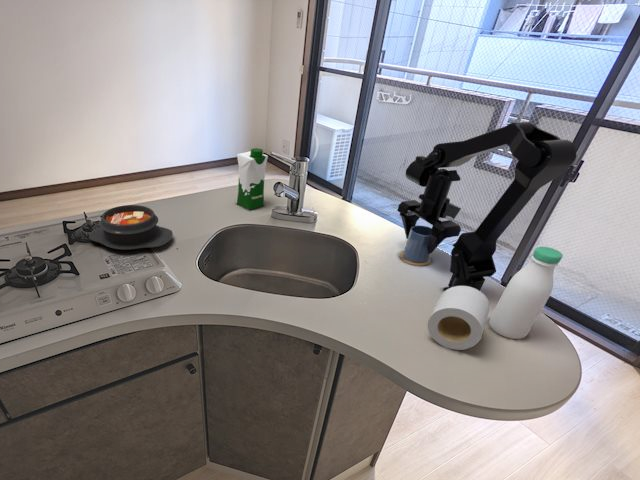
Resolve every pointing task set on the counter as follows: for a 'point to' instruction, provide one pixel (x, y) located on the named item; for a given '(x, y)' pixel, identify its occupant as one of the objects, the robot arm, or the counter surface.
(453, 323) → the toilet paper
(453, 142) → the robot arm
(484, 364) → the counter surface
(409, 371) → the counter surface
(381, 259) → the counter surface
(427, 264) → the coaster
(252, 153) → the milk carton
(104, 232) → the casserole
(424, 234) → the blue ceramic cup
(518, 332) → the milk bottle
